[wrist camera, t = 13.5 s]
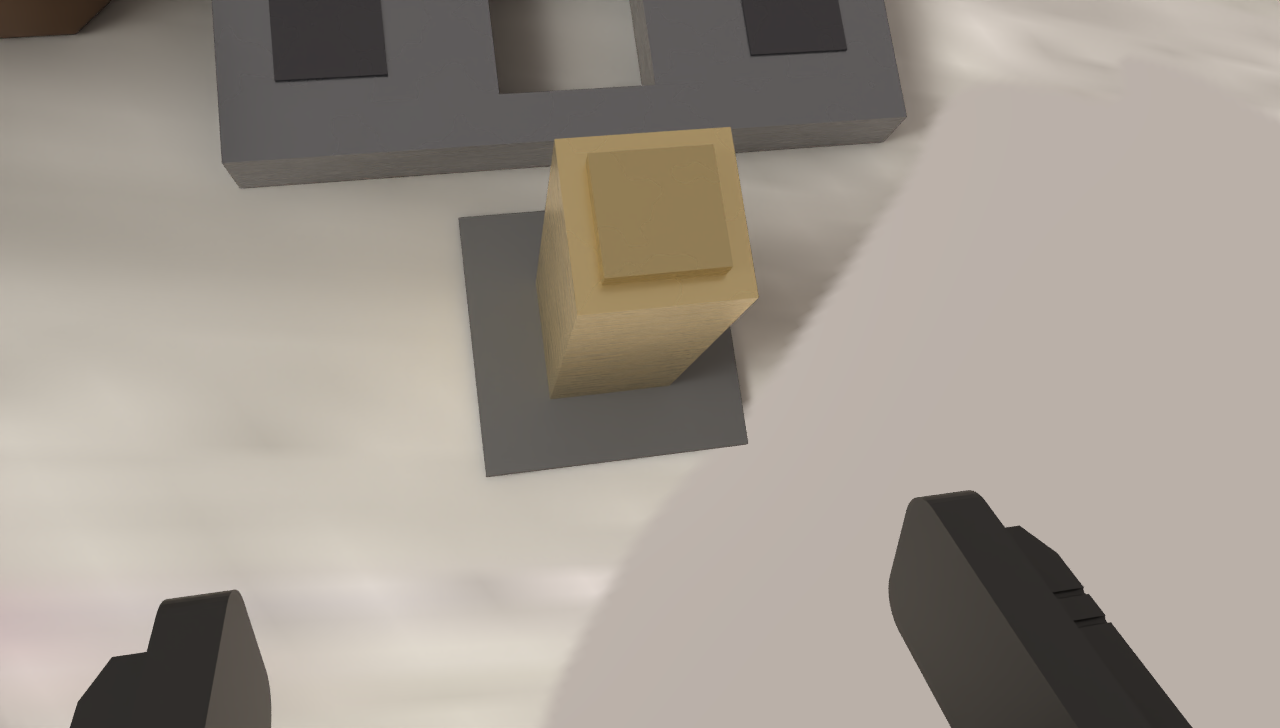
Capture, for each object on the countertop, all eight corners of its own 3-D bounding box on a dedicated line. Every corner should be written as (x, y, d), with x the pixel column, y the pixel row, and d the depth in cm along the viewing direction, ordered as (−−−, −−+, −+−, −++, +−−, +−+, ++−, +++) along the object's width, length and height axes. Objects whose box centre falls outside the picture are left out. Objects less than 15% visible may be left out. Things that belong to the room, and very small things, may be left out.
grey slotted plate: (239, 188, 36) (221, 162, 34) (224, -50, 38) (205, -91, 35) (883, 142, 40) (907, 115, 38) (842, -69, 42) (863, -108, 40)
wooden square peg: (550, 399, 36) (579, 309, 22) (535, 282, 36) (555, 128, 23) (669, 385, 36) (765, 290, 23) (652, 271, 37) (736, 116, 24)
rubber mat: (486, 477, 35) (486, 476, 35) (458, 221, 37) (458, 217, 37) (745, 444, 37) (748, 443, 36) (707, 201, 39) (709, 197, 38)
